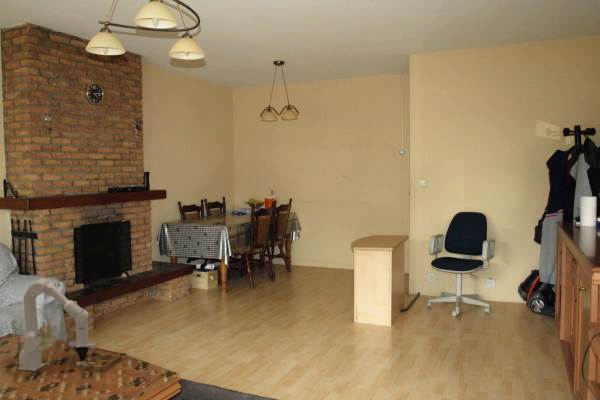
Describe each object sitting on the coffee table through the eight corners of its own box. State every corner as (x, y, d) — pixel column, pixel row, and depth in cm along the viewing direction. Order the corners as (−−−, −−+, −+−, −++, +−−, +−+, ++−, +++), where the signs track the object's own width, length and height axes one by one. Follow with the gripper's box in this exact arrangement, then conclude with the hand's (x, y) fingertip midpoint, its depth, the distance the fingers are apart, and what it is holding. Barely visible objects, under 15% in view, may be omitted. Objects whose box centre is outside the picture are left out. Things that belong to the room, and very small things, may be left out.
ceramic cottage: (60, 340, 272) (57, 315, 270) (44, 352, 255) (41, 325, 254) (33, 342, 272) (30, 317, 270) (16, 354, 256) (12, 327, 254)
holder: (79, 369, 232) (78, 364, 232) (98, 357, 247) (98, 353, 247) (103, 372, 229) (103, 367, 229) (122, 360, 244) (121, 355, 244)
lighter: (76, 365, 237) (81, 370, 231) (76, 362, 237) (81, 367, 231) (90, 361, 242) (96, 366, 236) (90, 358, 242) (96, 363, 236)
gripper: (64, 336, 237) (64, 362, 238) (89, 338, 234) (90, 365, 235) (73, 331, 244) (74, 357, 245) (98, 333, 241) (99, 359, 242)
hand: (82, 360), depth 240 cm, fingers closed
